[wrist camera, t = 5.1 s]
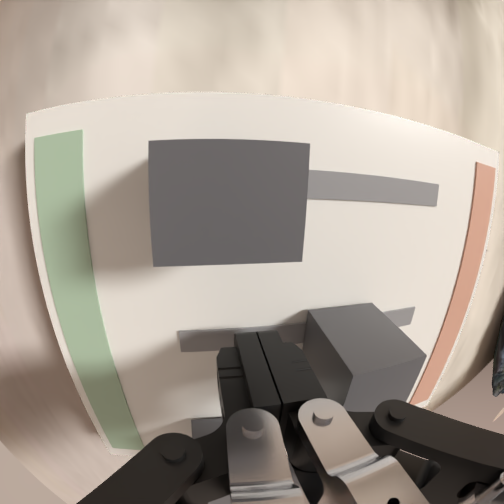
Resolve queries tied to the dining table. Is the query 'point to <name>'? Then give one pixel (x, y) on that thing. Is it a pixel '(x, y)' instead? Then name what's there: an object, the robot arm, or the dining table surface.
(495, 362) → the green bell-shaped piece
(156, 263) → the block
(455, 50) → the dining table surface
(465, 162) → the board
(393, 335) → the block
